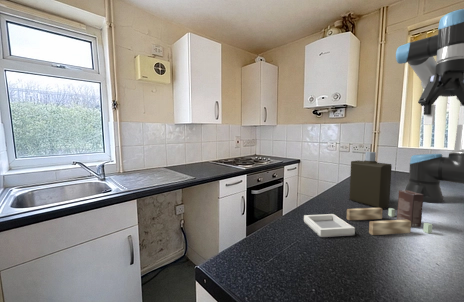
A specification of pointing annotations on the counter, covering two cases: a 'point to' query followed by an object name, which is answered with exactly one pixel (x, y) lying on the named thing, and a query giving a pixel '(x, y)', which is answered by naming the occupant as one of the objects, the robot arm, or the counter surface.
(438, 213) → the counter surface
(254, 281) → the counter surface
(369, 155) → the bottle
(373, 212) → the channel
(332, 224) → the tray
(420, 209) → the box
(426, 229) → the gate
